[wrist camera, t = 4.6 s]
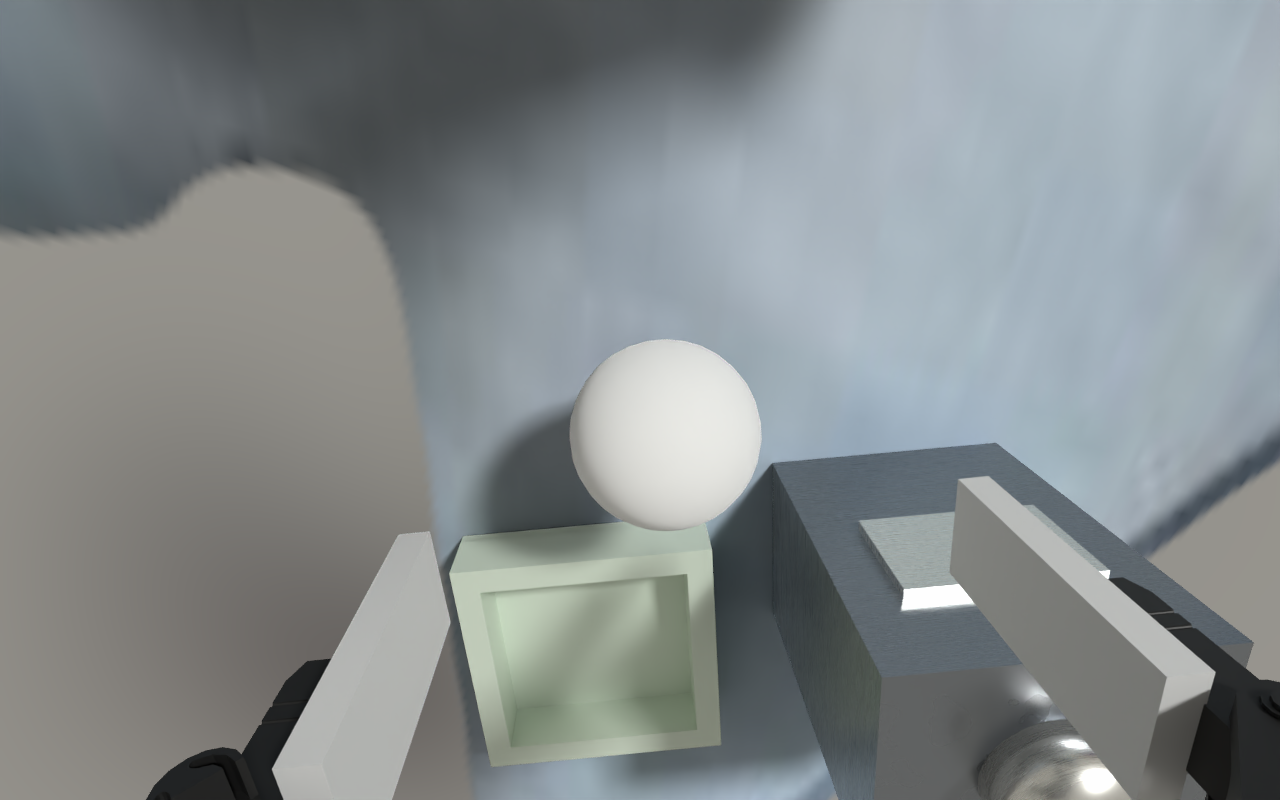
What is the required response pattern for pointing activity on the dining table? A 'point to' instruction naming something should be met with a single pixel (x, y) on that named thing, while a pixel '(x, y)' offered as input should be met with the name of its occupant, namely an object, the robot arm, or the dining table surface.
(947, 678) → the housing
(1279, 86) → the dining table surface
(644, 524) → the light bulb
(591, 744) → the tray
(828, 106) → the dining table surface
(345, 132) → the dining table surface
